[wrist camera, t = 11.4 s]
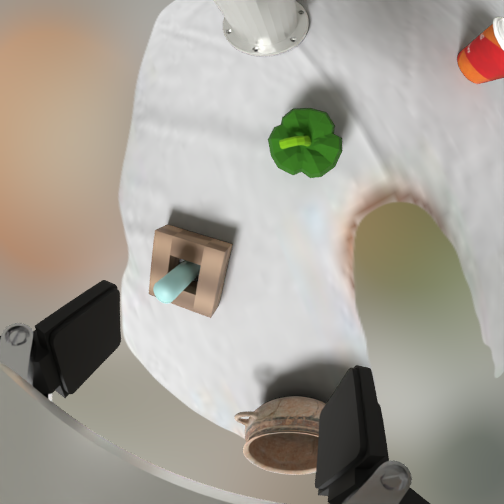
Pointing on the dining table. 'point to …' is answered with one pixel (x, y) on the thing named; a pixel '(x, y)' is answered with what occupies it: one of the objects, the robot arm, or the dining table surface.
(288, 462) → the cooking pot
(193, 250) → the socket
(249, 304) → the dining table surface
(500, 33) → the coffee cup
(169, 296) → the peg
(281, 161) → the bell pepper
